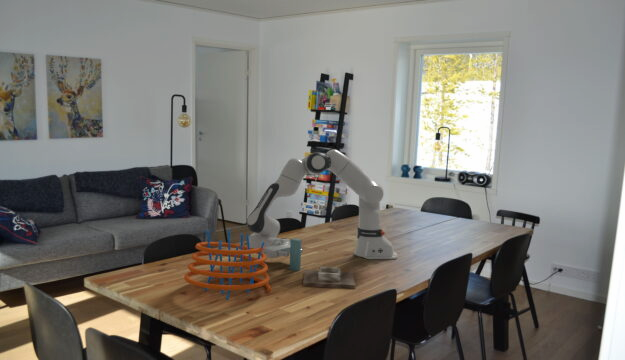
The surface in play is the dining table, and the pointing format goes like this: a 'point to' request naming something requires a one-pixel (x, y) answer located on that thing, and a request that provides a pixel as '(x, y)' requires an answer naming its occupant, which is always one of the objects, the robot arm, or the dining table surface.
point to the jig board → (329, 278)
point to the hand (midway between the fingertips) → (294, 253)
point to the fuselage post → (295, 254)
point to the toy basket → (229, 274)
